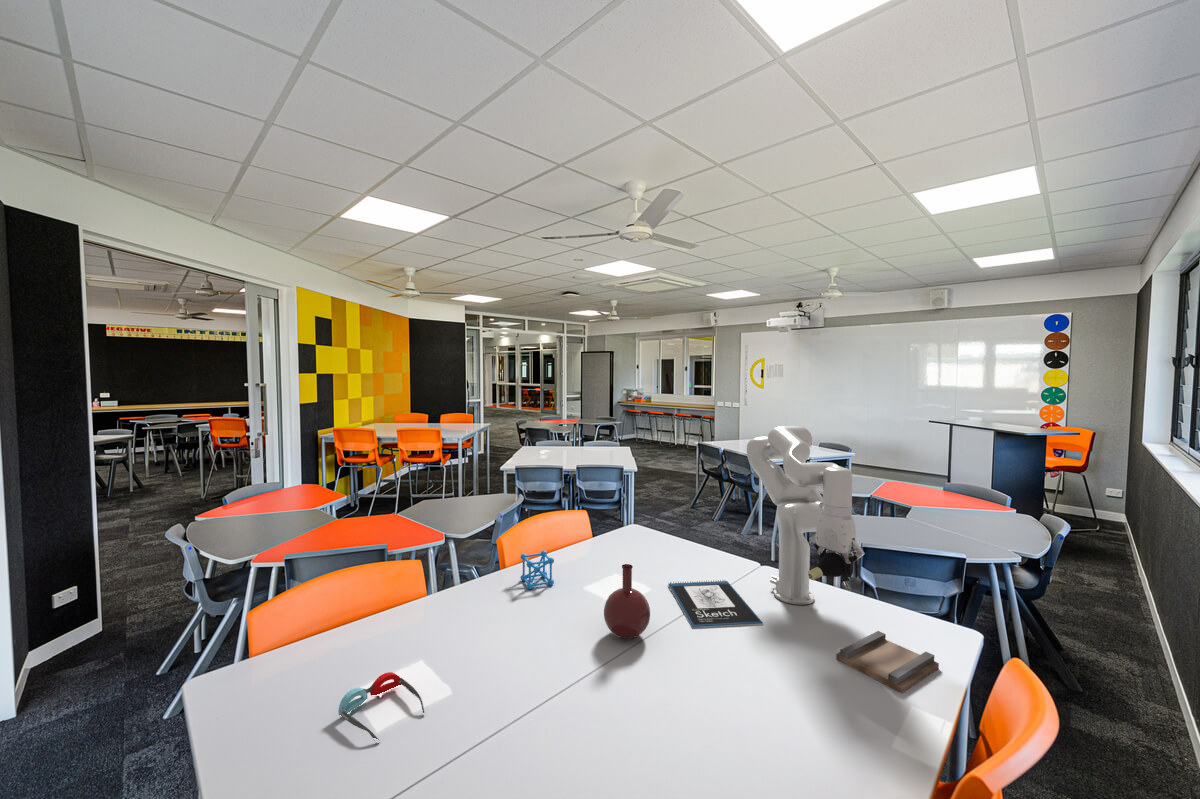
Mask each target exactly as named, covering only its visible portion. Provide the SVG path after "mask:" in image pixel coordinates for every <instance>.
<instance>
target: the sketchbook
mask: <svg viewBox="0 0 1200 799" xmlns="http://www.w3.org/2000/svg"><path fill="white" fill-rule="evenodd" d="M667 585H668V586H669V587H670V588H669V587H668V586H667V587H668V588H669V590H670V589H671V590H670V591H672V592H671V593H672V595H673V594H674V595H673V597H674V596H675V597H674V598H676V599H675V600H676V602H677V603H679V604H678V605H680V606H679V607H680V608H681V610H683V611H682V612H684V613H683V614H684V616H685V618H686V620H687V621H688V624H689V625H690V627H691V628H692V629H701V628H704V629H705V628H706V627H707V628H720V627H721V628H724V627H725V628H726V626H727V627H742V626H763V625H764V622H763V621H762V619H760V617H759V616H758V615H757V614H756V613H755V612H754V610H753V609H752V608H751V607H750V606H749V605H748V603H747V602H746V601H745V600H744V599H743V598H742V596H740V594H739V593H738V592H737V591H736V589H734V587H733V586H732V585H731V584H730V582H729V581H728V580H726V579H722V580H721V579H720V580H719V579H715V580H714V579H713V580H711V579H710V580H706V581H705V580H696V581H693V580H692V581H690V580H689V581H688V580H687V581H678V582H674V581H673V582H672V581H670V582H669V583H668V584H667Z"/></svg>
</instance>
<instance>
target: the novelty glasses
mask: <svg viewBox="0 0 1200 799" xmlns="http://www.w3.org/2000/svg"><path fill="white" fill-rule="evenodd" d="M390 680H392V681H391V682H388V681H390ZM385 682H388V683H385ZM398 685H402V686H403V687H404V688H405V689H406V690H408V692H410V693H411V695H413V696H414V697H416V698H417V699H418V700H419V702H420V706H421V710H423V711H422V714H423V713H425V709H424V703H423V699H422V698H421V695H420V694H419V692H418V691H417V690H416V689H415V687H413V686H412V685H411V684H410V683H409V682H407V681H406V680H405V679H404V678H402V677H400V675H398V674H396V673H395V672H393V671H392V672H390V671H389V672H385V673H383V674H381V675H379V676H378V677H376V679H375V680H374V681H373V683H372V684H371V685H370V687H368V688H367V689H366V688H361V687H354V688H352V689H350V690H349V691H348V692H346V694H344V696H343V697H342V698H341V700H340V703H339V705H338V710H337V711H338V715H339V716H340V715H341V716H342V717H341V716H340V717H341V718H343V719H344V720H346V721H347V722H348V723H349V724H351V725H353V726H355V727H356V728H359V729H361V730H363V731H366V732H367V733H368V734H369V735H370V736H371V739H373V738H376V739H378V740H379V738H378V737H377V736H376V735H375V733H373V732H372V731H371V730H370V729H369V728H368V727H367V726H365V725H364V724H363V723H362V722H360V721H359V720H358V719H356V718H355V717H354V716H352V715H350V714H347V713H348V712H350V711H351V710H353V709H354V708H356V707H357V706H359V705H361V704H362V703H363V702H364V701H365V700H366V699H367V700H368V694H370V696H372V695H377V694H380V693H382V692H385V691H387V690H389V689H391V688H394V687H396V686H398ZM356 697H358V698H356ZM361 706H362V705H361ZM359 707H360V706H359ZM356 709H357V708H356ZM354 710H355V709H354ZM354 710H353V711H354Z"/></svg>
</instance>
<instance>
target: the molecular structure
mask: <svg viewBox="0 0 1200 799" xmlns="http://www.w3.org/2000/svg"><path fill="white" fill-rule="evenodd" d="M537 556H540V559H539V561H535V562H533V561H532V560H529V559H528V558H531V557H532V558H533V557H537ZM520 559H521V560H522V574H521V576H520V578H519V579H520V580H521V581H522V582H525V583H526V588H527V590H529V589H530V590H533V588H534V587H537V586H544V585H548V586H553V585H554V584H555V580H554V579H553V564H554V563H555V559H554V558H553V557H552V556H550V557H549V556H548V551H546V550H542V551H541V552H540V553H533V554H526V553H522V554H520ZM546 559H547V560H546ZM525 563H526V565H525ZM541 564H542V565H541ZM547 565H549V576H548V572H547V571H546V566H547ZM526 567H527V568H528V573H527V574H525V573H526V572H525V571H526V570H525V569H526ZM532 569H533V570H532ZM541 569H542V570H541ZM537 573H538V574H537ZM536 577H537V578H538V577H542V578H543V577H544V579H545V580H546V581H545V582H544V581H543V582H540V583H539V582H538V583H533V582H534V580H535V578H536ZM527 579H528V580H527Z"/></svg>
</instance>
